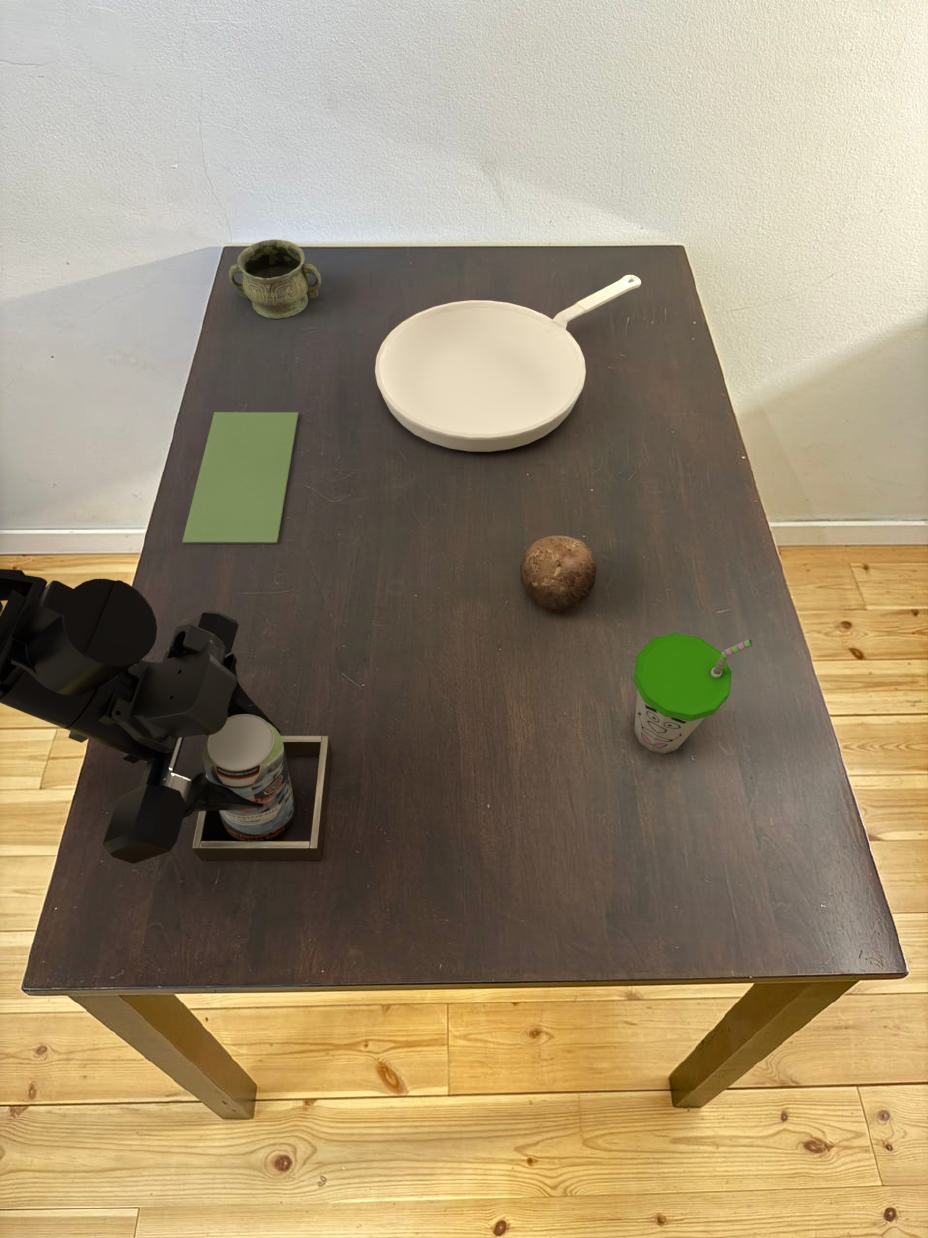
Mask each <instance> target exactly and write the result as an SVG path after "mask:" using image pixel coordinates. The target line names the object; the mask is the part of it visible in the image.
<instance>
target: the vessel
mask: <svg viewBox="0 0 928 1238" xmlns="http://www.w3.org/2000/svg"><path fill="white" fill-rule="evenodd" d="M235 274H242V283H239V282H237V281H236V280H235V277H234V276H235ZM309 274H310V275H312V276H313V277H315V283H312V284H310V278H309ZM228 278H229V281H230V283H231V285H232V286H233V287H234V288H235V289H237V291H238V296H240V297H241V298H248V299H249V300H250V301H251V307H252V309H253V310H254V311H255V312H256V313H257V314H258V315H260V316H262V317H264V318H267V319H272V320H273V319H274V320H277V319H286V318H287V319H288V318H290V317H293V316H296V315H298V314H299V313H300V312H302V311H304V309H305V308H306V307H307V305H308V303H309V299H308V295H309V298H310V299H315V298H317V297H318V296H319V292H318V289H319V288H320V287H321V284H322V277H321V273H320V272H319V270H318V269H317V268H316V267H315V266H314V265H313V264H311V263H305V253H304V251H303V249H302V248H301V247H300V246H298V244H296V243H294V242H292V241H289V240H282V239H277V238H276V239H268V240H267V239H266V240H261V241H258V242H255V243H253V244H251V245H249V246H248V247H246V248H244V249H243V250H242V251H241V252H240V254H239V255H238V257H237V263H235V264H231V266H230V268H229V271H228ZM307 293H308V294H307Z"/></svg>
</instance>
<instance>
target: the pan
mask: <svg viewBox="0 0 928 1238" xmlns="http://www.w3.org/2000/svg"><path fill="white" fill-rule="evenodd" d="M641 284H642V282H641V279H640V277H638V276H636V275H633V274H627V275H623V277H622V278H620V279H619V280H617V281H615V282H613V283H612V284H610V285H607V286H606V287H604V288H602V289H600V290H598V291H596V292H594V293H592V294H590V295H588V296H586V297H585V298H583V299H580V300H578V301H577V302H575V303H574V304H573V305H571V306H570V307H567V308H565V309H564V310H561V311H560V312H558V313H556V315H554V317H553V318H551V317H549V316H547V315H545V314H544V313H541V312H539V311H536V310H534V309H532V308H529V307H525V306H522V305H519V304H514V303H511V302H506V301H505V302H504V301H496V300H481V299H480V300H477V299H476V300H470V299H469V300H461V301H453V302H448V303H444V304H440V305H435V306H432V307H430V308H427V309H424V310H422V311H419V312H417V313H415V314H414V315H411V316H410V317H408V318H407V319H405V320H403V321H402V322H400V323H399V324H398V325H397V326H396V327H394V329H392V330H391V331H390V332H389V334H388V335H387V336H386V337H385V339H384V340H383V342H382V343H381V345H380V347H379V350H378V352H377V354H376V357H375V365H374V366H375V367H374V373H375V380H376V384H377V387H378V389H379V391H380V393H381V397H382V398H383V400H384V402H385V404H386V406H387V408H388V410H389V411H390V413H391V414H392V416H393V417H395V419H396V420H397V421H398V422H399V423H400V425H402V426H403V427H404V428H406V429H407V430H408V431H410V432H411V433H412V434H413V435H415V436H416V437H419V438H420V439H423V440H424V441H427V442H429V443H431V444H434V445H437V446H441V447H444V448H446V449H451V450H457V451H463V452H464V451H465V452H476V453H477V452H479V453H480V452H481V453H482V452H483V453H484V452H488V453H489V452H497V451H506V450H511V449H515V448H518V447H521V446H525V445H528V444H531V443H533V442H535V441H537V440H539V439H541V438H544V437H545V436H547V435H548V434H549V433H551V432H552V431H553V430H555V429H557V428H559V426H560V425H561V424H562V422H563V421H564V420H565V419H566V418H567V417H568V416H569V415H570V413H571V412H572V410H573V408H574V406H575V404H576V402H577V400H578V399H579V396H580V394H581V392H582V391H583V388H584V386H585V380H586V376H587V374H586V373H587V370H586V369H587V368H586V361H585V356H584V354H583V352H582V349H581V347H580V345H579V343H577V341H576V339H575V338H574V336H573V335H572V334H571V333H570V332H569V331H568V330H567V326H568V323H569V322H570V321H572V320H575V319H576V318H578V317H580V316H582V315H584V314H587V313H589V312H592V311H594V310H595V309H597V308H599V307H601V306H603V305H604V304H607V303H609V302H610V301H612V300H614V299H617V298H618V297H620V296H622V295H623V294H625V293H627V292H629V291H632V290H636V289H638V288H639V287H640V286H641Z"/></svg>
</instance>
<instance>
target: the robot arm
mask: <svg viewBox="0 0 928 1238" xmlns="http://www.w3.org/2000/svg"><path fill="white" fill-rule="evenodd" d="M2 602H6V603H5V605H3V603H2ZM239 625H240V624H239V623H238V621H237V620H235V619H233V618H232V617H229V616H227V614H224V613H222V612H221V611H212V610H207V611H203V612H201V613H200V614H197V616H195V617H194V618H192V619H191V620H189V621H188V622H186V623H184V624H183V625H178V626H176V627H175V629H174V631H173V634H172V636H171V640H170V643H169V646H168V648H167V650H166V651H165V653H164V656H163V658H162V661H161V662H156V661H149V660H145V659H144V658H145V657H147V655H148V654H149V653H150V652H151V650H152V649H153V647H154V646H155V643H156V640H157V633H158V624H157V618H156V615H155V613H154V610H153V607H152V606H151V604H150V603H149V601H148V600H147V598H146V597H145V596H144V594H142V593H141V592H140V591H139V590H138V589H136V588H135V587H133V586H132V585H131V584H129V583H127V582H126V581H123V580H121V579H116V580H114V579H110V578H93V579H89V580H85V581H83V582H81V583H79V584H78V585H77V586H75V587H74V588H73V587H71V586H69V585H67V584H65V583H63V582H61V581H60V580H54V579H53V580H52V581H50V582H49V583H48V581H47V579H45V578H44V577H42V576H41V577H40V576H35V575H29V574H25V572H24V571H23V570H22V569H12V568H11V569H9V568H0V704H1V705H4V706H7V707H9V708H12V709H14V710H17V711H19V712H21V713H24V714H26V715H29V716H31V717H34V718H37V719H39V720H41V721H44V722H46V723H49V724H51V725H54V726H56V727H59V728H62V729H64V730H66V731H69V734H68V736H67V738H68V739H70V740H73V741H76V742H79V743H81V744H82V743H84V742H86V741H87V740H92V741H94V742H97V743H99V744H101V745H104V746H106V747H109V748H112V749H114V750H116V751H119V752H122V757H121V760H124V761H126V762H128V763H132V764H137V763H139V762H140V761H144V762H146V765H145V769H144V772H143V775H142V778H141V781H140V784H139V787H138V788H136V789H134V790H132V791H129V792H128V793H126V794H123V795H121V796H118V798H117V799H116V802H115V805H114V808H113V811H112V815H111V817H110V821H109V823H108V826H107V829H106V832H105V835H104V839H103V841H102V845H103V847H104V849H106V851H107V852H108V854H109V855H110V856H111V857H112V858H114V859H116V860H120V861H123V862H128V863H129V864H131V865H132V864H133V865H135V864H138V863H141V862H144V861H146V860H149V859H152V858H155V857H158V856H161V855H163V854H167V853H169V852H171V850H172V849H173V848H174V846H175V844H176V843H177V841H178V837H179V835H180V830H181V827H182V824H183V820H184V819H185V818H187V817H189V816H191V815H192V814H193V813H199V811H217V812H219V811H226V810H243V809H251V808H259V809H260V808H263V806H264V804H263V803H257V802H253V801H250V800H248V799H246V798H243V797H242V796H240V795H238V794H236V793H235V792H233V791H232V790H231V789H229V788H227V787H224V786H221V785H218V784H215V783H212V782H210V781H209V780H208V778H207V777H206V774H204V772H202V771H201V772H199V773H196V774H194V775H192V776H189V777H186V776H184V775H180V774H178V773H176V772H175V770H176V767H177V763H178V760H179V757H180V753H181V749H182V746H183V744H184V740H185V738H187V737H196V736H202V735H203V736H204V735H205V736H209V735H212V734H215V733H217V732H219V731H220V730H221V729H222V728H223V727H224V725H225V724H226V721H227V718H229V717H231V716H235V715H241V714H249V715H255V716H258V717H260V718H262V719H264V720H265V721H266V722H268V723H269V724H271V725H272V726H273V727H274V728H275V729H276V730H277V731H278V732H279V734H280V735H281V732H282V731H281V730H280V729H279V728H278V727H277V726H276V725H275V724H274V723H273V721H271V719H270V718H269V717H268V716H267V715H266V714H265V713H264V712H263V710H262V709H260V707H259V706H258V705H257V704H256V703H255V702H254V701H253V700H252V699H251V697H250V696H249V695H248V694H247V693H246V691H245V690H244V689H243V687H242V686H241V685H240V682H239V679H238V674H237V663H238V659H237V656H236V655H235V654H234V653H231V652H232V649H233V646H234V643H235V639H236V636H237V632H238V630H239V629H238V628H239ZM230 653H231V654H230ZM228 654H229V655H228ZM226 655H227V656H226Z"/></svg>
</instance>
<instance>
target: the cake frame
mask: <svg viewBox="0 0 928 1238" xmlns="http://www.w3.org/2000/svg"><path fill="white" fill-rule="evenodd" d="M280 736H281V738H282V741H283V745H284V750H285V755H286V758H288V757H289V758H290V757H291V758H292V757H294V758H297V757H299V758H301V757H302V758H303V757H305V758H307V757H308V758H311V757H312V758H316V757H317V758H318V767H317V776H316V786H315V795H314V803H313V813H312V814H313V815H312V822H311V832H310V839H309V840H298V841H297V840H269V841H239V840H213V838H214V837H213V836H214V831H215V825H216V820H217V813H218V811H198V815H197V821H196V826H195V832H194V837H193V841H192V850H193V851H194V852H195V853H196V855H197V856H198V857H199V859H200V860H201V861H322V860H323V853H324V844H325V843H324V842H325V834H326V833H325V832H326V823H327V813H328V802H329V794H330V793H329V792H330V781H331V771H332V763H333V761H332V760H333V751H334V750H333V748H332V744H331V741H330V737H329V736H328V735H280ZM205 776H206V777H207V774H206V773H205ZM207 778H208V777H207Z"/></svg>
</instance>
